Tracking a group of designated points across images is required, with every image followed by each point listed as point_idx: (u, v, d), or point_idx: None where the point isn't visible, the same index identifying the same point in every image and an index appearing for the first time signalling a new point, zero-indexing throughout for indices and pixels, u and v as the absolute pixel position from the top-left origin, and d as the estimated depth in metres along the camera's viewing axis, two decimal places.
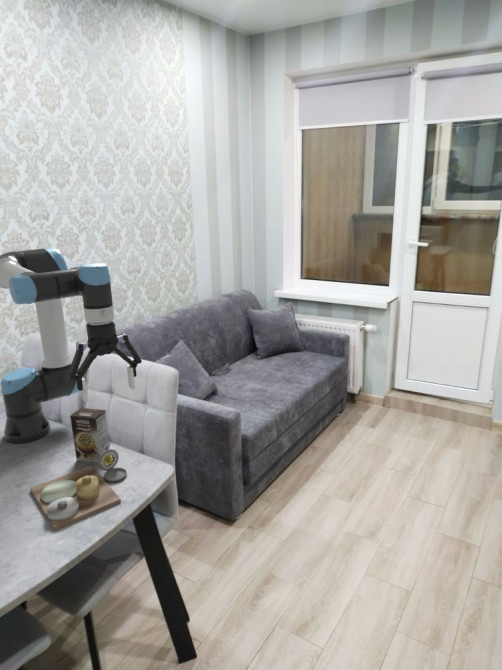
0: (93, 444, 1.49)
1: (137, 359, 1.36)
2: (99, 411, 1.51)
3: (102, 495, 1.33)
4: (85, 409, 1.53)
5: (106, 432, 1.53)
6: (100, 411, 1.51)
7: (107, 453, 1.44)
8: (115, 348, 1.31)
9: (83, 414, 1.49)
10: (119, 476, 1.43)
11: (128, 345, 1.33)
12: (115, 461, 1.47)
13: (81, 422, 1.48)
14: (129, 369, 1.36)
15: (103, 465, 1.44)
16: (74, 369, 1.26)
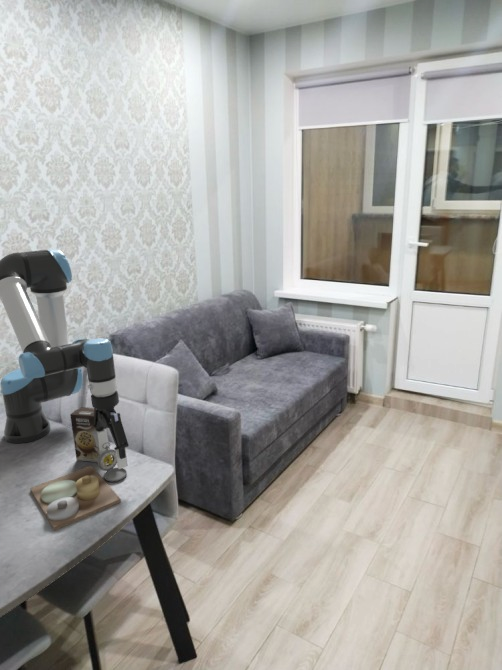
0: (93, 442, 1.49)
1: (118, 444, 1.32)
2: None
3: (102, 495, 1.33)
4: (85, 408, 1.53)
5: None
6: None
7: (107, 453, 1.44)
8: (105, 421, 1.35)
9: (83, 412, 1.49)
10: (119, 476, 1.43)
11: (112, 426, 1.33)
12: (115, 461, 1.47)
13: (81, 420, 1.48)
14: None
15: (103, 465, 1.44)
16: (94, 420, 1.45)
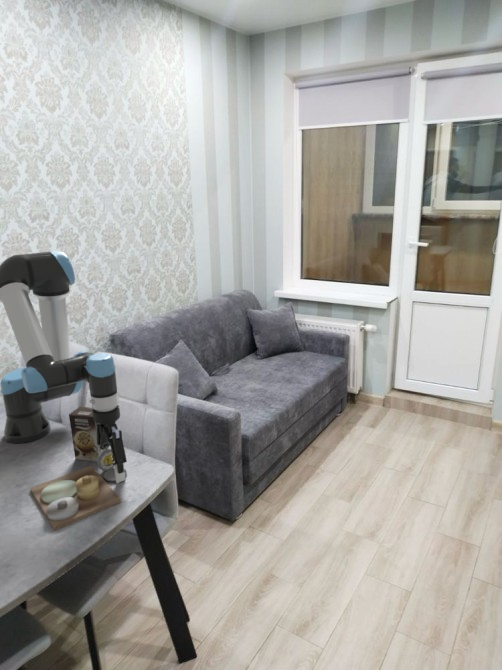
0: (92, 442, 1.50)
1: (117, 459, 1.36)
2: None
3: (102, 495, 1.33)
4: (83, 407, 1.54)
5: None
6: None
7: (107, 453, 1.44)
8: (106, 436, 1.38)
9: (82, 413, 1.49)
10: None
11: (113, 442, 1.35)
12: None
13: (79, 420, 1.48)
14: None
15: (103, 465, 1.44)
16: (97, 437, 1.46)
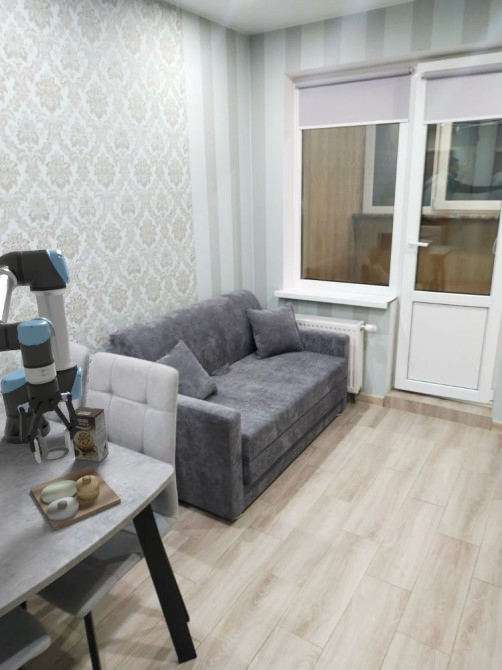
0: (92, 442, 1.50)
1: (74, 421, 1.32)
2: (98, 410, 1.52)
3: (102, 495, 1.33)
4: (83, 407, 1.54)
5: (104, 430, 1.54)
6: (99, 410, 1.52)
7: None
8: (56, 407, 1.27)
9: (82, 413, 1.49)
10: (59, 452, 1.33)
11: (70, 405, 1.30)
12: (40, 448, 1.30)
13: (79, 420, 1.48)
14: (65, 432, 1.31)
15: None
16: (23, 432, 1.24)
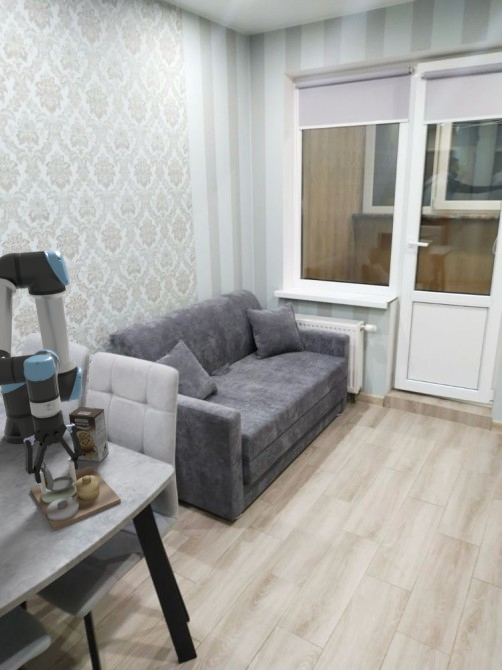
0: (92, 442, 1.50)
1: (79, 451, 1.35)
2: (98, 410, 1.52)
3: (102, 495, 1.33)
4: (83, 407, 1.54)
5: (104, 430, 1.54)
6: (99, 410, 1.52)
7: None
8: (61, 439, 1.30)
9: (82, 413, 1.49)
10: (64, 482, 1.36)
11: (74, 436, 1.33)
12: (45, 478, 1.33)
13: (79, 420, 1.48)
14: (70, 463, 1.34)
15: None
16: (29, 465, 1.26)
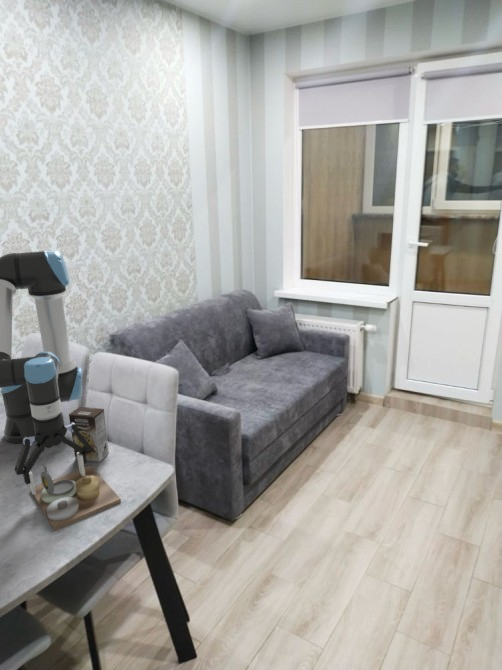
0: (92, 442, 1.50)
1: (87, 446, 1.36)
2: (98, 410, 1.52)
3: (102, 495, 1.33)
4: (83, 407, 1.54)
5: (104, 430, 1.54)
6: (99, 410, 1.52)
7: None
8: (63, 439, 1.30)
9: (82, 413, 1.49)
10: (64, 486, 1.36)
11: (77, 434, 1.33)
12: (46, 482, 1.34)
13: (79, 420, 1.48)
14: (79, 456, 1.36)
15: None
16: (20, 465, 1.25)
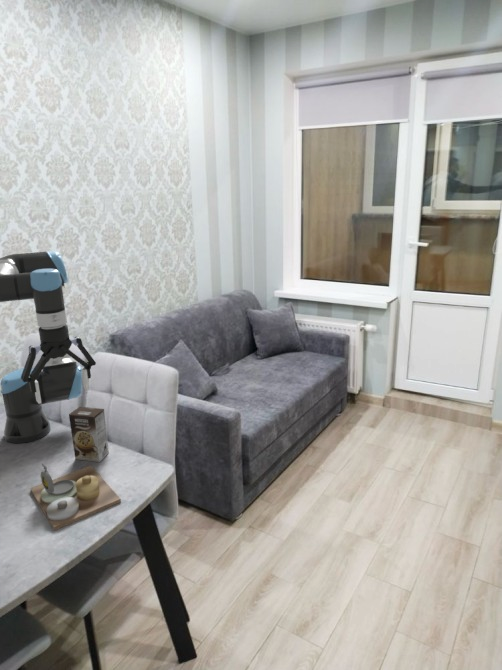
0: (92, 442, 1.50)
1: (91, 361, 1.40)
2: (98, 410, 1.52)
3: (102, 495, 1.33)
4: (83, 407, 1.54)
5: (104, 430, 1.54)
6: (99, 410, 1.52)
7: None
8: (68, 351, 1.34)
9: (82, 413, 1.49)
10: (64, 486, 1.36)
11: (81, 348, 1.37)
12: (46, 482, 1.34)
13: (79, 420, 1.48)
14: (83, 371, 1.39)
15: None
16: (27, 372, 1.29)
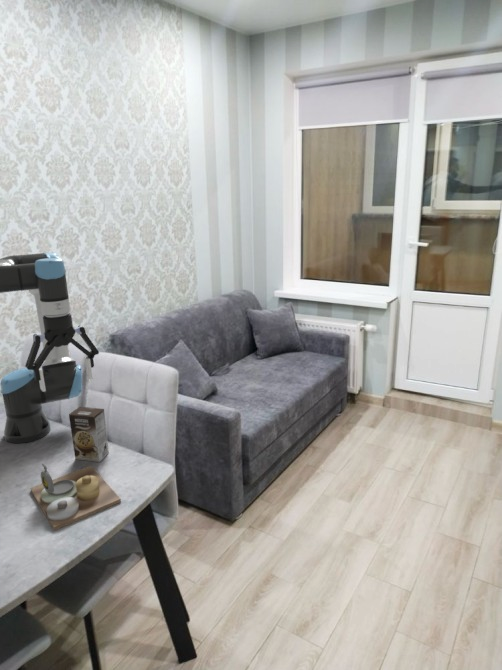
0: (92, 442, 1.50)
1: (94, 350, 1.42)
2: (98, 410, 1.52)
3: (102, 495, 1.33)
4: (83, 407, 1.54)
5: (104, 430, 1.54)
6: (99, 410, 1.52)
7: None
8: (72, 339, 1.36)
9: (82, 413, 1.49)
10: (64, 486, 1.36)
11: (85, 337, 1.39)
12: (46, 482, 1.34)
13: (79, 420, 1.48)
14: (86, 360, 1.41)
15: None
16: (31, 360, 1.31)
